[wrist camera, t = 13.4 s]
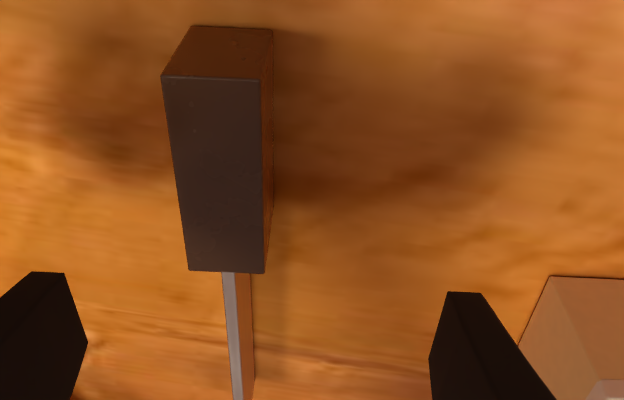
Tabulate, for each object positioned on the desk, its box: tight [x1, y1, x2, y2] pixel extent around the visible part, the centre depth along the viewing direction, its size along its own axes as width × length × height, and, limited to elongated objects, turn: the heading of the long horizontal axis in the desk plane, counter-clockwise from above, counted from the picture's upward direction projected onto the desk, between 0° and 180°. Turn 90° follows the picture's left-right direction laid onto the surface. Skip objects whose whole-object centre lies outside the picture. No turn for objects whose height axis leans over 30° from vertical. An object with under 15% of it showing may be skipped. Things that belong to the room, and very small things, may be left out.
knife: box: [160, 26, 274, 400], centre depth 17 cm, size 16×2×3 cm, turn 178°
